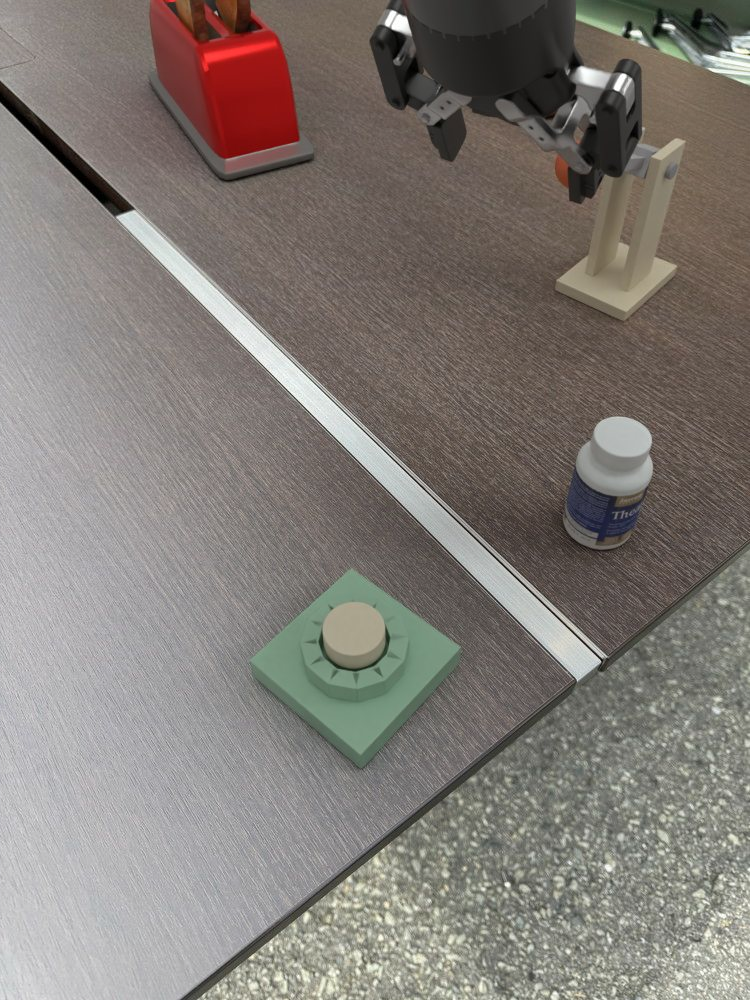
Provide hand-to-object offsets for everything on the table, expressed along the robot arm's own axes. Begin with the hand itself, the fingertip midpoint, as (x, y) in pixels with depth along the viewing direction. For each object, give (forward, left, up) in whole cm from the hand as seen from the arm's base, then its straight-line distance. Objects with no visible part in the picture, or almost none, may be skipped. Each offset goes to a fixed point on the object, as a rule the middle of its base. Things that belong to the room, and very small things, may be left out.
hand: (516, 168), depth 51 cm
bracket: (+5, -28, -25) cm, 38 cm away
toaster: (+63, -28, -26) cm, 73 cm away
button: (-5, +22, -22) cm, 31 cm away
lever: (+5, -22, -12) cm, 25 cm away
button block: (-5, +22, -25) cm, 34 cm away
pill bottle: (-11, 0, -26) cm, 28 cm away
